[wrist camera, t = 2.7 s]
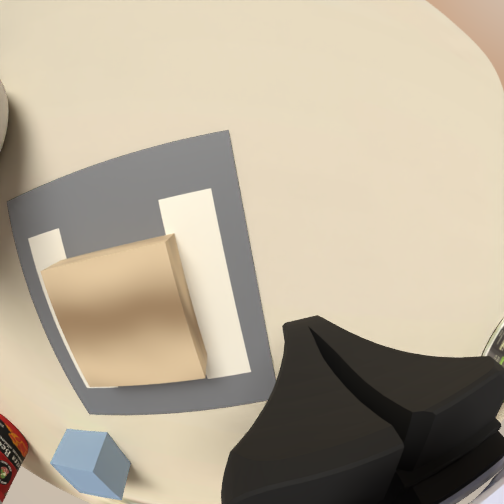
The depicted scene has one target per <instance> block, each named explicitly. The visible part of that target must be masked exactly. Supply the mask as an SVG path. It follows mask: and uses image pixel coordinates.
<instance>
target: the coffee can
mask: <svg viewBox="0 0 504 504" xmlns="http://www.w3.org/2000/svg"><path fill="white" fill-rule="evenodd" d="M482 356H490V357H492V358H493V359H494V360H496V361H497V362H498V363H499V364H501V365H502V366H503V367H504V318H503V320H502V321H501V322H500V324H499V325H498V327H497V328H496V330H495V331H494V333H493V334H492V336H491V338H490V340H489V342H488V344H487V346H486V348H485V350H484V352H483V354H482ZM503 402H504V401H503Z"/></svg>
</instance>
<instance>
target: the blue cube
mask: <svg viewBox="0 0 504 504" xmlns="http://www.w3.org/2000/svg"><path fill="white" fill-rule="evenodd" d="M50 464H51V465H52V466H53V467H54V468H55V469H56V470H57V471H58V472H59V473H60V474H61V475H62V476H63V477H64V478H65V479H66V480H67V481H68V482H69V483H70V484H71V485H72V486H73V487H74V488H76V489H77V490H78V491H79V492H81V493H85V494H90V495H95V496H100V497H105V498H111V499H118V500H122V497H123V493H124V488H125V484H126V480H127V476H128V472H129V468H130V464H131V463H130V461H129V460H128V459H127V458H126V457H125V455H124V454H123V453H122V451H121V450H120V449H119V448H118V446H117V445H116V444H115V442H114V441H113V439H112V438H111V437H110V435H109V434H108V433H107V432H95V431H83V430H73V429H67V430H66V432H65V434H64V436H63V438H62V440H61V442H60V444H59V446H58V448H57V450H56V452H55V454H54V456H53V458H52V460H51V462H50Z"/></svg>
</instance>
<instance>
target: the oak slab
mask: <svg viewBox="0 0 504 504" xmlns="http://www.w3.org/2000/svg"><path fill="white" fill-rule="evenodd" d="M40 272H41V275H42V278H43V281H44V284H45V287H46V290H47V293H48V296H49V299H50V301H51V304H52V307H53V309H54V312H55V315H56V317H57V320H58V322H59V325H60V327H61V329H62V332H63V334H64V336H65V339H66V341H67V343H68V345H69V347H70V350H71V352H72V354H73V356H74V358H75V360H76V362H77V364H78V366H79V368H80V370H81V372H82V374H83V376H84V377H85V379H86V381H87V383H88V385H89V387H113V386H134V385H148V384H160V383H170V382H180V381H188V380H196V379H204V378H205V377H206V365H207V352H206V349H205V346H204V342H203V339H202V336H201V333H200V329H199V326H198V322H197V319H196V315H195V312H194V308H193V305H192V301H191V298H190V294H189V290H188V286H187V283H186V279H185V275H184V271H183V267H182V263H181V259H180V255H179V251H178V247H177V243H176V238H175V234H174V233H173V234H168V235H164V236H159V237H155V238H150V239H146V240H142V241H137V242H133V243H129V244H124V245H120V246H116V247H112V248H108V249H103V250H99V251H95V252H91V253H87V254H83V255H79V256H75V257H71V258H68V259H64V260H60V261H59V262H57V263H55V264H53V265H51V266H49V267H47V268H46V269H44V270H42V271H40Z"/></svg>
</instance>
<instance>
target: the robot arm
mask: <svg viewBox="0 0 504 504" xmlns="http://www.w3.org/2000/svg"><path fill="white" fill-rule="evenodd" d="M282 327H283V333H284V340H285V345H284V354H283V359H282V363H281V367H280V371H279V374H278V377H277V380H276V383H275V386H274V388H273V390H272V393H271V395H270V397H269V399H268V401H267V403H266V405H265V407H264V408H263V410H262V412H261V413H260V415H259V416H258V418H257V419H256V421H255V422H254V424H253V425H252V427H251V428H250V429H249V431H248V432H247V433H246V434H245V436H244V437H243V438H242V439H241V440H240V441H239V443H238V444H237V445H236V446H235V447H234V448H233V449H232V451H231V452H230V454H229V457H228V461H227V464H226V468H225V472H224V476H223V482H222V490H221V501H222V504H456V503H458V502H459V501H461V500H462V499H464V498H465V497H467V496H468V495H469V494H471V493H472V492H474V491H475V490H476V489H478V488H479V487H480V486H482V485H483V484H484V483H485V482H487V481H488V480H489V479H490V478H492V477H493V476H494V475H495V474H496V475H495V476H494V478H493V479H492V481H491V482H490V483H489V485H488V486H487V487H486V488H485V489H484V490H483V491H482V492H481V494H480V495H479V496H477V497H476V498H475V499H474V500H473V501H471V502H470V503H468V504H504V437H503V436H502V435H501V434H500V432H499V431H498V430H499V429H500V427H501V423H500V422H499V421H498V420H497V419H496V418H495V417H496V415H497V413H498V411H499V409H500V407H501V405H502V403H503V401H504V367H503V366H502V365H501V364H499V363H498V362H497V361H496V360H494V359H493V358H492V357H490V356H480V357H464V358H452V357H435V356H426V355H420V354H414V353H408V352H404V351H399V350H396V349H392V348H389V347H385V346H382V345H379V344H376V343H374V342H371V341H369V340H366V339H364V338H361V337H359V336H357V335H355V334H353V333H350V332H348V331H346V330H344V329H342V328H340V327H339V326H337V325H335V324H333V323H331V322H329V321H327V320H326V319H324V318H322V317H320V316H318V315H317V316H313V317H308V318H304V319H300V320H296V321H291V322H287V323H285V324H284V325H283V326H282ZM502 468H503V469H502ZM501 469H502V470H501ZM500 470H501V471H500ZM499 471H500V472H499ZM498 472H499V473H498ZM497 473H498V474H497Z"/></svg>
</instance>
